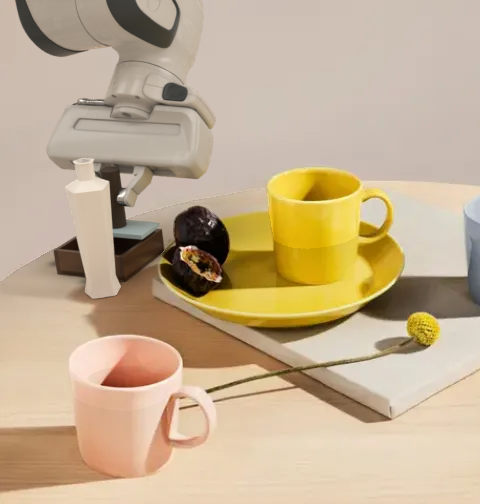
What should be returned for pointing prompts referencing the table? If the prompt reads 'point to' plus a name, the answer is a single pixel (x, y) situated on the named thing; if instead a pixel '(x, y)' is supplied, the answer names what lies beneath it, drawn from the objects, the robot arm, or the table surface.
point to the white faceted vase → (93, 229)
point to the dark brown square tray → (125, 253)
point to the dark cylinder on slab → (119, 222)
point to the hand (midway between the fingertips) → (111, 203)
